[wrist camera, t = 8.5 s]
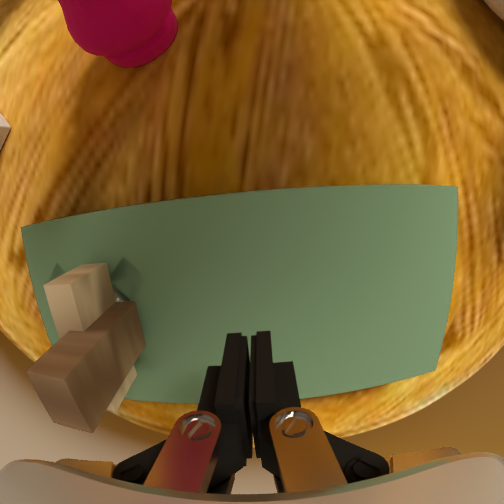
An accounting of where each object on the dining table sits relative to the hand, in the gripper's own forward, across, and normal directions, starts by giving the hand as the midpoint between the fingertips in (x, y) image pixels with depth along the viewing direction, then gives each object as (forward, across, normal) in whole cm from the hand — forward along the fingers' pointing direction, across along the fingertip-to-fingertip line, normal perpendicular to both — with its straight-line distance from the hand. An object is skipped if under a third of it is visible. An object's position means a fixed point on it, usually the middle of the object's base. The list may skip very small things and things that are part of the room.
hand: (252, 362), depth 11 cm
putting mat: (+10, +1, +1) cm, 10 cm away
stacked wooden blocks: (+5, +9, +1) cm, 10 cm away
